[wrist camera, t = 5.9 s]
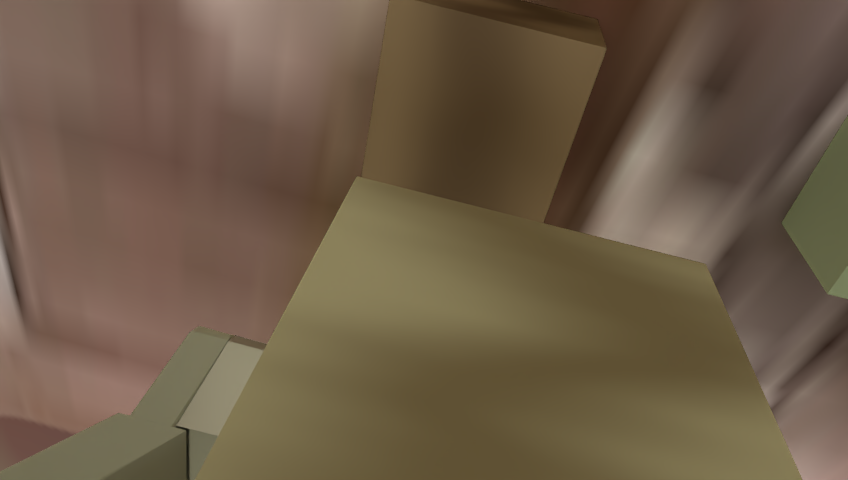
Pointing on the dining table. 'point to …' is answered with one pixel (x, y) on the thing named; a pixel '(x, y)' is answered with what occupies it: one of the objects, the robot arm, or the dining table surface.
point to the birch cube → (496, 359)
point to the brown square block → (480, 100)
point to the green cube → (825, 217)
